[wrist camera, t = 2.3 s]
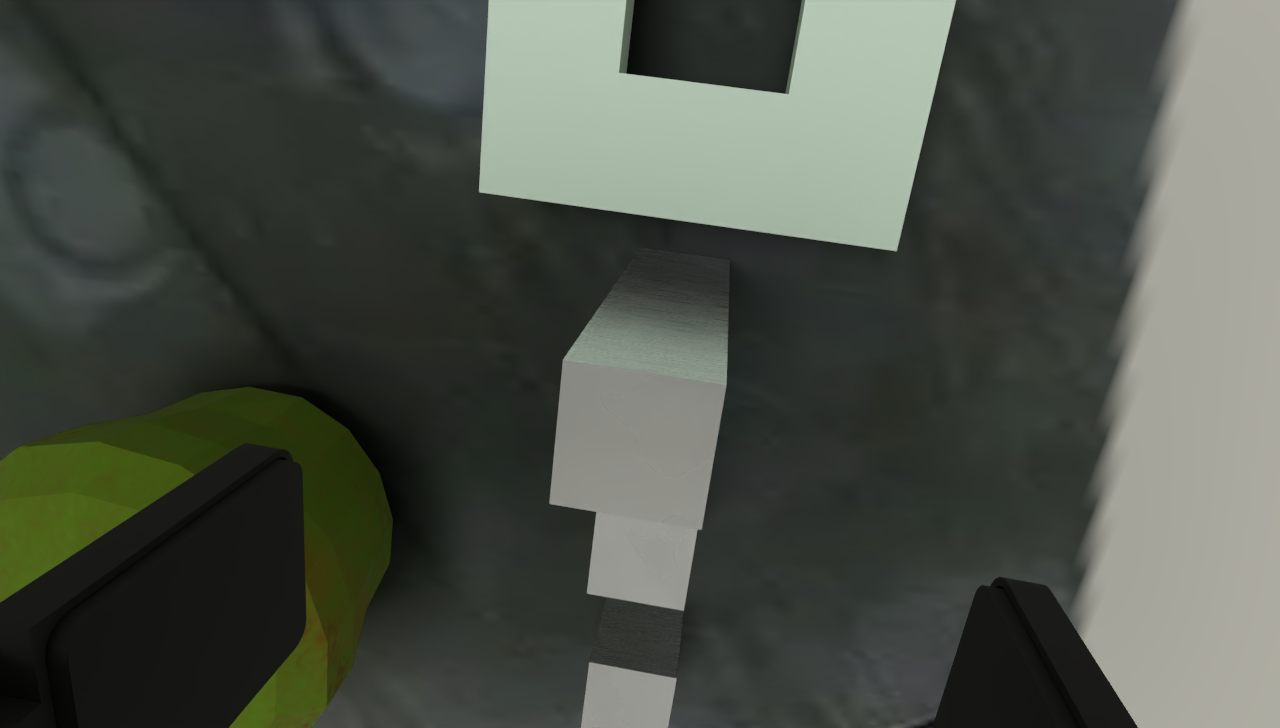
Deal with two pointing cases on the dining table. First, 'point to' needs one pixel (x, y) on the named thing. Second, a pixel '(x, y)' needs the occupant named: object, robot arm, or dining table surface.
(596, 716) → the short pin
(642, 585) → the medium pin
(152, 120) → the dining table surface
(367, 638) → the dining table surface
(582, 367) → the long pin
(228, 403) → the apple
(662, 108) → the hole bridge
